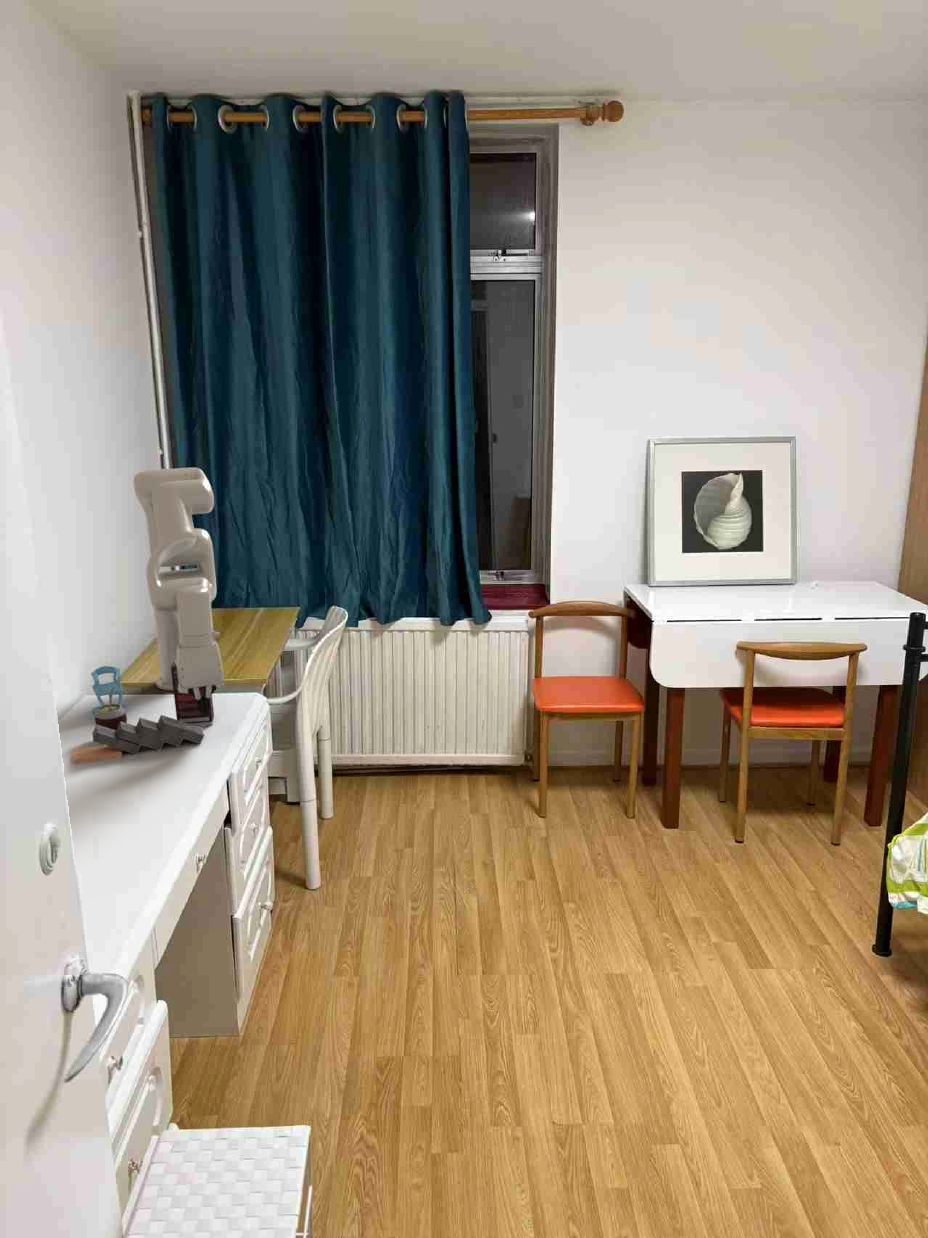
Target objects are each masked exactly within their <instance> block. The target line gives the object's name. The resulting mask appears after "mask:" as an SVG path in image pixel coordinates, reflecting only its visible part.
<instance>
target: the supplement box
mask: <svg viewBox="0 0 928 1238" xmlns="http://www.w3.org/2000/svg"><path fill="white" fill-rule="evenodd" d="M171 674H172V683H173V690H172V691H173V699H174V707H175V714H176V715H175V716H176V720H179V721H182V722H186V723H189V724H192V725H195V726H198V727H201V726H213V724H214V720H215V712H214V705H213V694H212V695H211V697H210V707H211V709H208V714H204V715H201V713H200V711H197V705H196V698H195V697H193V696H192V695H190V694H189V693H179V691H178V685H179V682H178V677H177V661H174V662H173V664H172V665H171ZM198 688H199V692H200V694H201V696H203V693H204V687H198ZM204 713H205V712H204Z"/></svg>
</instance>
